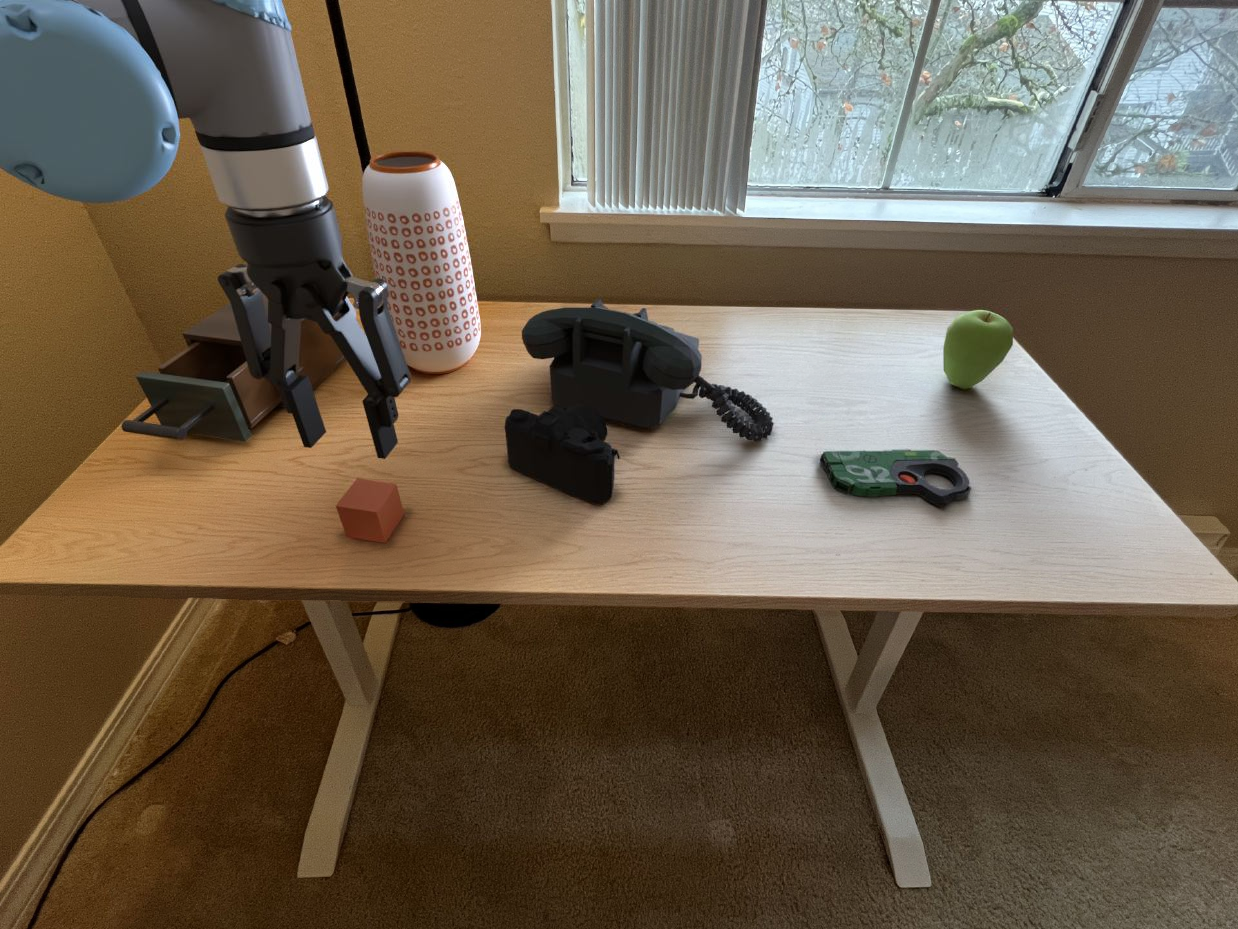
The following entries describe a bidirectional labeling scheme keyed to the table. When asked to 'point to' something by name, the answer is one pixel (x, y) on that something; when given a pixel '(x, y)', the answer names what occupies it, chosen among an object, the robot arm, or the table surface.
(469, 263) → the white patterned cylinder
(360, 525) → the block
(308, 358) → the cabinet
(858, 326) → the table surface
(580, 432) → the film camera
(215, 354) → the drawer
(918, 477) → the gun
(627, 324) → the rotary telephone
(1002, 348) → the apple
